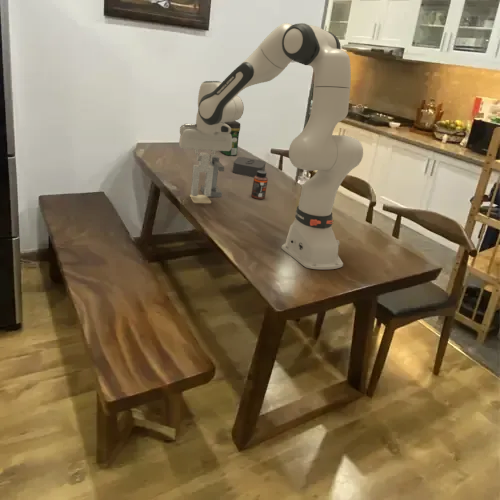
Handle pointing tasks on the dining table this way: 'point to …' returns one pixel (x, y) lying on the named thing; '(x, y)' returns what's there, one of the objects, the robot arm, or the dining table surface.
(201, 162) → the pale upright frame
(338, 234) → the dining table surface
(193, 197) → the felt pad
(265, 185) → the supplement bottle
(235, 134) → the coffee jar
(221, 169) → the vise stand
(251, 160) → the streaming box
